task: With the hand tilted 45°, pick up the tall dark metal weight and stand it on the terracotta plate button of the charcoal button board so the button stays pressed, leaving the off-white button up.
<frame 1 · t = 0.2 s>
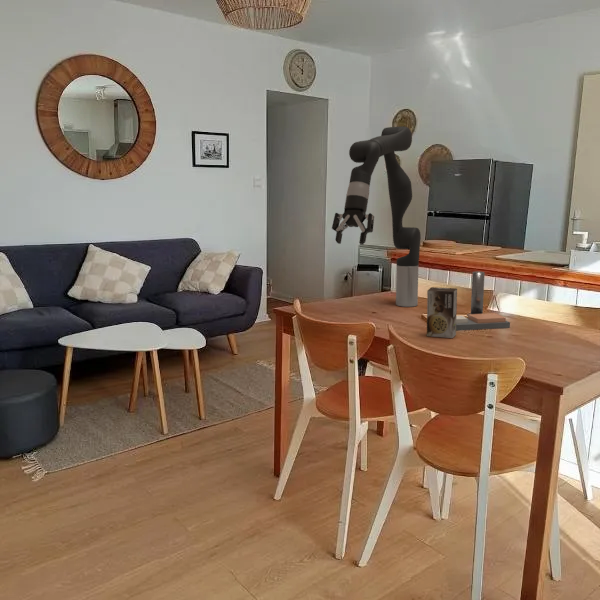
hand: (349, 243, 196), 31 cm above the table, tool tilted 20°, fingers open, 8 cm apart
button board: (474, 326, 211), on the table
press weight: (476, 318, 222), on the table
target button: (486, 318, 211), point 3 cm above the table, slide at 0.0 cm
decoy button: (458, 320, 209), point 3 cm above the table, slide at 0.0 cm
coffee box: (441, 335, 199), on the table
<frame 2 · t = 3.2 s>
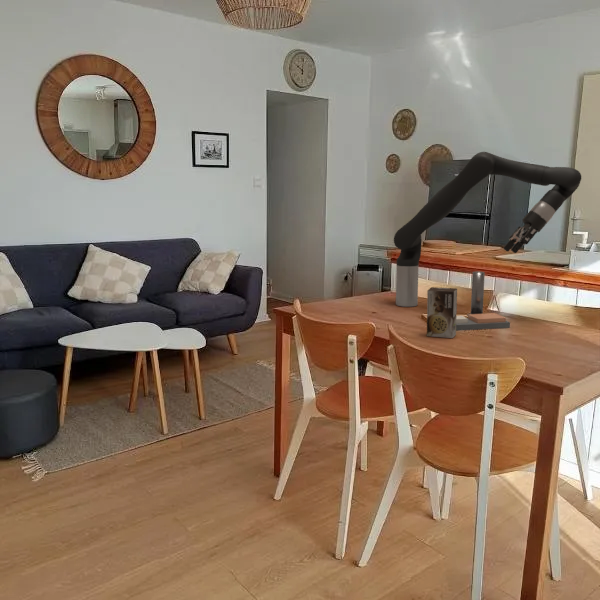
hand: (509, 250, 214), 26 cm above the table, tool tilted 40°, fingers open, 8 cm apart
nothing on the table moved.
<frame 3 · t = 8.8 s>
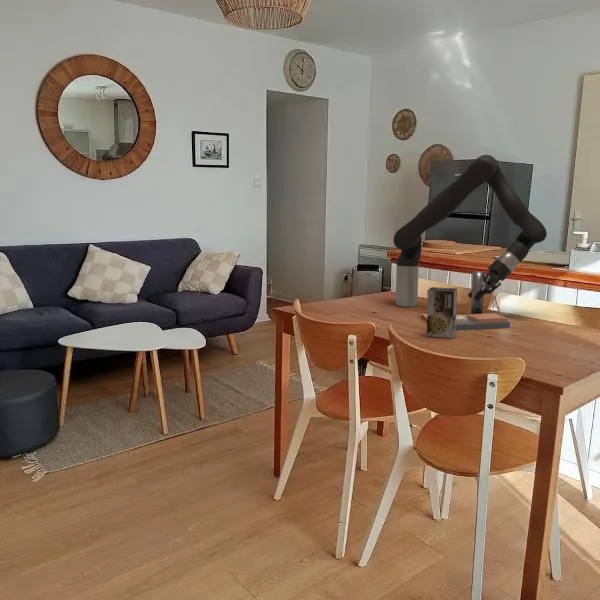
hand: (472, 298, 221), 8 cm above the table, tool tilted 45°, fingers closed on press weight, 4 cm apart
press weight: (476, 318, 222), on the table, touching gripper
everything else where it was.
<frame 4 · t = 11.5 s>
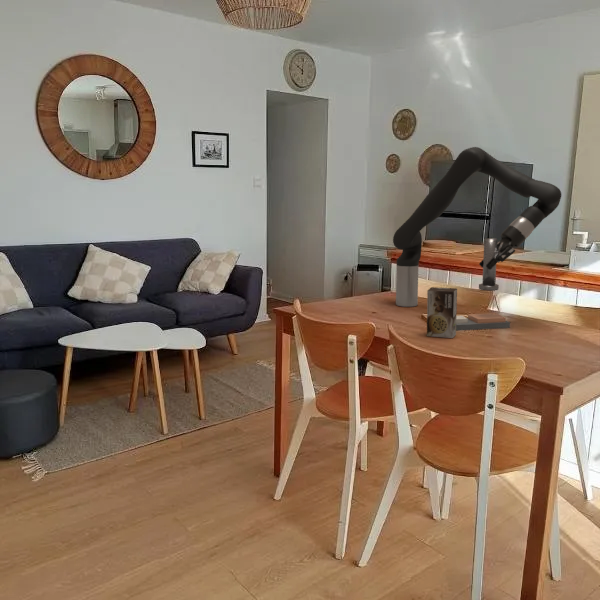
hand: (484, 266, 207), 22 cm above the table, tool tilted 45°, fingers closed on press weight, 4 cm apart
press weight: (488, 288, 209), point 13 cm above the table, touching gripper
everything else where it was.
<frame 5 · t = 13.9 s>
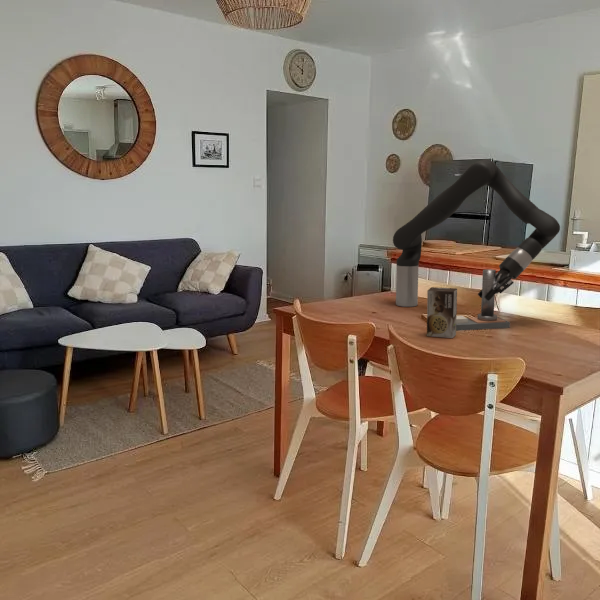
hand: (483, 297, 209), 10 cm above the table, tool tilted 45°, fingers closed on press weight, 4 cm apart
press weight: (487, 319, 211), point 2 cm above the table, touching gripper, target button
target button: (486, 321, 211), point 1 cm above the table, slide at -1.2 cm, touching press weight
everything else where it was.
when the fingers open (10 cm above the table, at t = 14.6 s): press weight stays where it is, resting on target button.
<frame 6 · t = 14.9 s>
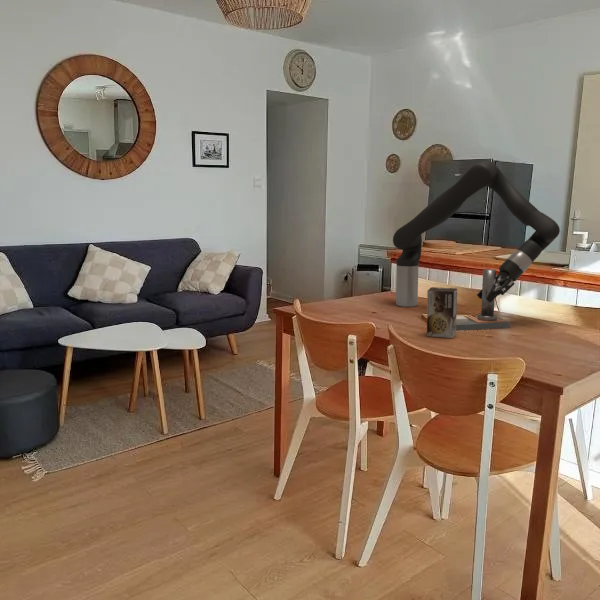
hand: (483, 298, 209), 10 cm above the table, tool tilted 45°, fingers open, 6 cm apart
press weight: (487, 319, 211), point 2 cm above the table, touching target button
everything else where it was.
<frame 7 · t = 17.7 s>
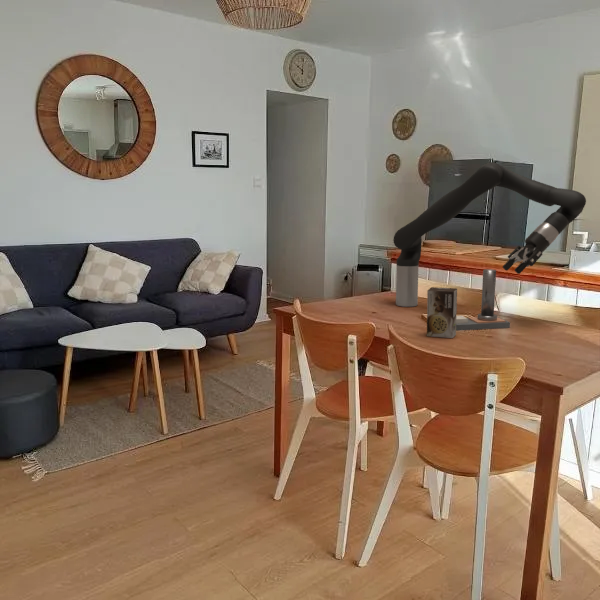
hand: (510, 270, 209), 20 cm above the table, tool tilted 45°, fingers open, 8 cm apart
nothing on the table moved.
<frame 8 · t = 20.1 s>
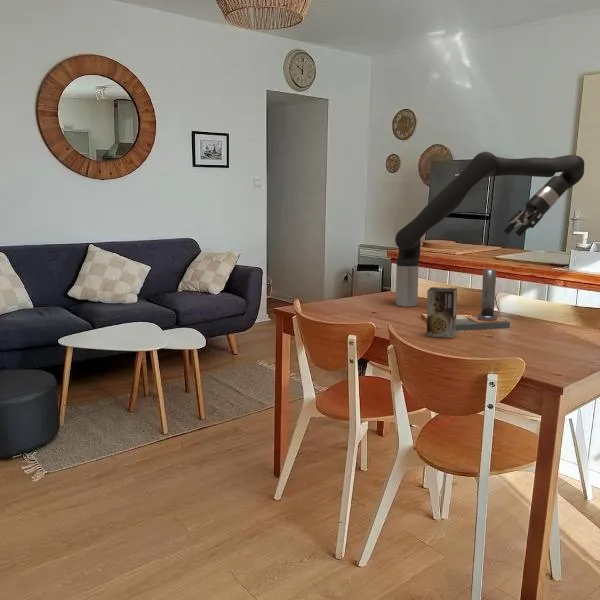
hand: (511, 233, 213), 33 cm above the table, tool tilted 45°, fingers open, 8 cm apart
nothing on the table moved.
at the end: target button slide at -1.2 cm; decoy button slide at 0.0 cm; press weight tilted 0° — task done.
